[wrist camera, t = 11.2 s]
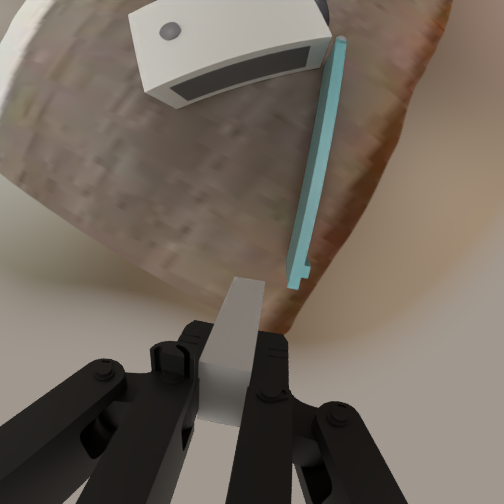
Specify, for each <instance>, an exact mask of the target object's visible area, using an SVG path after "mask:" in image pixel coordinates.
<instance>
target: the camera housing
mask: <svg viewBox="0 0 504 504" xmlns="http://www.w3.org/2000/svg"><path fill="white" fill-rule="evenodd" d="M128 17H129V22H130V27H131V33H132V38H133V43H134V47H135V52H136V57H137V61H138V66H139V70H140V75H141V79H142V83H143V87H144V92H145V93H147V94H149V95H151V96H153V97H155V98H157V99H158V100H160V101H162V102H164V103H166V104H168V105H170V106H171V107H173V108H175V109H179V108H181V107H184V106H186V105H189V104H192V103H194V102H197V101H200V100H202V99H205V98H208V97H211V96H214V95H216V94H219V93H222V92H225V91H229V90H232V89H235V88H238V87H241V86H245V85H248V84H252V83H255V82H259V81H263V80H266V79H270V78H274V77H278V76H282V75H287V74H291V73H296V72H300V71H305V70H310V69H316V68H320V66H321V64H322V61H323V59H324V56H325V54H326V51H327V49H328V46H329V44H330V41H331V39H332V34H331V32H330V30H329V28H328V25H329V10H328V6H327V2H326V0H157V1H155V2H153V3H151V4H149V5H146V6H144V7H142V8H140V9H138V10H136V11H134V12H132V13H131V14H129V15H128Z"/></svg>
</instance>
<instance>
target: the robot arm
mask: <svg viewBox="0 0 504 504" xmlns="http://www.w3.org/2000/svg"><path fill="white" fill-rule="evenodd" d="M264 287H265V281H259V280H253V279H247V278H240V277H234V279H233V281H232V284H231V286H230V288H229V291H228V293H227V295H226V298H225V300H224V302H223V305H222V307H221V310H220V312H219V314H218V317H217V319H216V322H215V324H212V323H207V322H202V321H197V320H194V321H193V322H191V323H190V324H188V325H186V327H185V328H184V330H183V332H182V335H181V336H180V337H179V339H178V341H177V342H176V341H165V342H160V343H158V344H155V345H154V346H153V347H152V348H150V356H151V367H152V371H151V372H149V373H126V372H125V370H124V368H123V366H122V365H121V364H120V363H119V362H117V361H114V360H112V359H98V360H94V361H92V362H90V363H89V364H87V365H86V366H84V367H83V368H82V369H80V370H79V371H77V372H76V373H74V374H73V375H72V376H70V377H69V378H68V379H66V380H65V381H63V382H62V383H61V384H59V385H58V386H56V387H55V388H53V389H52V390H51V391H49V392H48V393H46V394H45V395H44V396H42V397H41V398H39V399H38V400H37V401H35V402H34V403H32V404H31V405H30V406H28V407H27V408H25V409H24V410H23V411H21V412H20V413H18V414H17V415H16V416H14V417H13V418H12V419H10V420H9V421H7V422H6V423H5V424H3V425H2V426H0V504H62V503H63V502H64V501H66V500H67V499H68V498H69V497H70V496H71V495H72V494H73V493H74V492H75V491H76V490H77V489H78V488H79V487H80V486H81V485H82V484H83V483H84V482H85V481H86V480H87V479H88V478H89V477H90V478H89V480H88V482H87V484H86V485H85V487H84V489H83V491H82V493H81V495H80V497H79V498H78V500H77V502H76V504H170V502H171V499H172V496H173V493H174V490H175V487H176V484H177V481H178V478H179V475H180V472H181V469H182V466H183V463H184V460H185V457H186V454H187V450H188V448H189V444H190V442H191V438H192V435H193V432H194V421H195V418H196V415H197V412H198V417H197V418H198V419H201V420H206V421H210V422H215V423H220V424H225V425H231V426H237V427H240V430H239V435H238V440H237V445H236V451H235V456H234V461H233V467H232V472H231V477H230V482H229V487H228V493H227V497H226V502H225V504H291V493H292V463H293V464H294V465H295V469H296V472H297V475H298V479H299V482H300V485H301V489H302V492H303V495H304V498H305V502H306V504H408V503H407V501H406V499H405V497H404V495H403V494H402V492H401V490H400V488H399V486H398V484H397V482H396V481H395V479H394V477H393V475H392V473H391V471H390V469H389V468H388V466H387V464H386V462H385V460H384V458H383V457H382V455H381V453H380V451H379V449H378V447H377V446H376V444H375V442H374V440H373V438H372V437H371V435H370V433H369V431H368V429H367V427H366V426H365V424H364V422H363V420H362V418H361V417H360V415H359V413H358V412H357V411H356V410H355V408H353V407H352V406H350V405H348V404H346V403H343V402H338V401H331V402H327V403H324V404H323V405H321V406H320V407H319V408H316V407H313V406H310V405H307V404H305V403H302V402H300V401H299V400H298V399H296V398H295V397H294V396H293V395H292V393H291V391H290V390H289V383H288V382H289V377H288V376H289V375H288V374H289V371H288V342H287V340H286V338H285V337H284V335H283V334H277V333H271V332H264V331H258V327H259V321H260V314H261V307H262V301H263V294H264Z"/></svg>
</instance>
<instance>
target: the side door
mask: <svg viewBox="0 0 504 504" xmlns="http://www.w3.org/2000/svg"><path fill="white" fill-rule="evenodd" d="M346 44H347V39H346V38H345V37H344V36H341V35H340V36H337V38H336V40H335V42H334V45H333V47H332V49H331V52H330V54H329V56H328V58H327V61H326V63H325V65H324V71H323V77H322V83H321V89H320V95H319V101H318V106H317V112H316V118H315V123H314V129H313V134H312V139H311V145H310V150H309V155H308V160H307V165H306V170H305V175H304V180H303V185H302V190H301V195H300V199H299V204H298V209H297V213H296V218H295V223H294V227H293V232H292V236H291V241H290V245H289V249H288V254H287V258H286V272H287V288H292V289H297V290H298V287H299V284H300V280H301V277H302V278H307V279H308V275H309V272H310V268H311V266H310V263H309V260H308V256H307V252H308V248H309V244H310V240H311V236H312V231H313V227H314V223H315V218H316V214H317V210H318V205H319V201H320V196H321V191H322V187H323V182H324V177H325V172H326V167H327V162H328V157H329V152H330V146H331V141H332V136H333V130H334V124H335V119H336V113H337V107H338V101H339V94H340V88H341V81H342V74H343V67H344V60H345V52H346Z"/></svg>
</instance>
